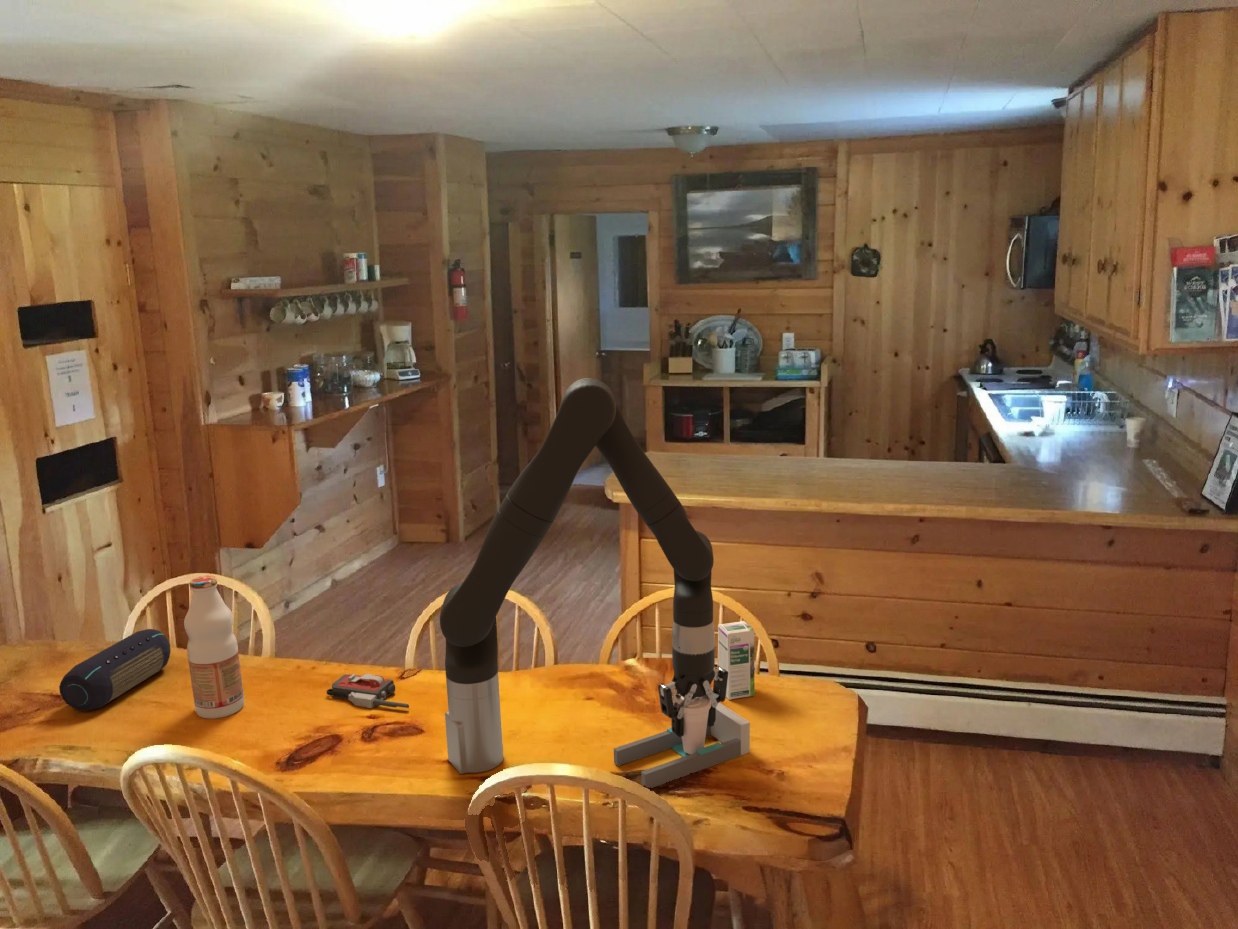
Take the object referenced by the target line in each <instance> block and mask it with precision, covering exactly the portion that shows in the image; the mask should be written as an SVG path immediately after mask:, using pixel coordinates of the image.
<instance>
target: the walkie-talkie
mask: <svg viewBox="0 0 1238 929" xmlns="http://www.w3.org/2000/svg"><path fill="white" fill-rule="evenodd" d="M394 683H395V682H394V680H393V679H388V678H384V677H383V676H382V675H377V674H375V675H374V674H371V673H365V674H364V675H357V674H355V673H353V674H350V673H349V674H342V676H340V677H339V678H338V679H336V680H335V681H333V683H332V684H331V688H329V689H327V690H326V695H328V696H332V697H333V698H334V699H341V700H347V701H350V702H351V703H352V704H353V705H354V706H355V707H362V708H368V709H373V708H375V706H378V707H379V706H382V707H390V708H397V707H399V708H406V709H408V708H410V705H409V703H402V702H398V701H397V702H396V701H390V700H386V699H387V698H388V697H390V695H394V693H395V692H396V685H395V684H394Z"/></svg>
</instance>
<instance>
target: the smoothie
mask: <svg viewBox="0 0 1238 929" xmlns="http://www.w3.org/2000/svg"><path fill="white" fill-rule="evenodd" d="M681 699H682V700H684V697H682V696H681ZM678 708H679V704H678V703H677V710H678ZM710 708H711V700H709V699H707V698H706V697H704V696H702V697H696V698H695V699H693V700H691V701H690V704H689V706H688V707H687V708H686V707H685V708H684V714H683V718H684V735H683V736H682V742H683V749H684V751H685V752H686V753H688V754H692V753H695V752H696V750H698V749H701V748H704V747H705V743H706V738H707V736H706V729H707V721H708V713H709V709H710Z"/></svg>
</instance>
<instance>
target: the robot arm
mask: <svg viewBox="0 0 1238 929" xmlns="http://www.w3.org/2000/svg"><path fill="white" fill-rule="evenodd" d="M616 401H617V400H616V397H615V395H614V392H613V391H612V389H611V388H610V386H608V385H607V384H606V383H604V382H603V381H601V380H600V379H595V378H590V377H588V378H587V377H586V378H581V379H578V380H576V381H574V382H573V383H572V384H570V386H568V387H567V389H566V391H565V393H564V394H563V397H562V399H561V401H560V405H559V407H558V411H557V412H556V413H557V414H556V416H555V418H554V420H553V422H552V425H551V427H550V429H549V431H548V433H547V436H546V437H545V439H544V441H543V443H542V444H541V446H540V448H539V449H538V451H537V452H536V454H535V455H534V456H533V458H532V459H531V460H530V461H529V463H528V464H527V465H526V466H525V467H524V469H523V470H522V471H521V472H520V474H519V475H518V476H517V478H516V479H515V480H514V482H513V484H512V485H511V486H510V488H509V490H508V491H507V493H506V495H505V496H504V498H503V500H502V502H501V504H500V505H499V506H498V508H497V511H496V513H495V514H494V516H493V519H492V520H491V522H490V524H489V527H488V530H487V532H486V534H485V537H484V539H483V542H482V544H481V547H480V550H479V552H478V554H477V558H476V560H475V562H474V563H473V565H472V567H471V570H470V571H469V572H468V573H467V574H468V575H466V577H465V579H464V580H463V581H461V582H459V583H457V584H455V585H454V586H453V587H451V588H450V589H449V591H448V592H447V593H446V594H445V597H444V600H443V602H442V605H441V606H442V607H441V609H440V613H439V626H440V630H441V633H442V635H443V637H444V638H445V655H444V656H445V659H444V668H445V670H444V671H445V679H446V680H445V681H446V684H445V685H446V694H447V698H446V699H447V709H448V711H445V713H444V722H445V734H446V735H445V737H446V748H447V760H448V761H449V763H450V764H451V765H452V766H453V767H454V768H455V769H456V771H457V772H458V773H459V774H461V775H464V774H468V773H475V774H476V773H483V772H487V771H491V770H493V769H495V768H497V767H498V766H499V765H500V764H501V763H502V761H503V760H504V745H503V744H504V743H503V730H502V729H503V728H502V716H501V714H502V712H501V698H500V696H501V695H500V681H499V679H500V678H499V665H498V664H499V662H498V658H499V656H498V655H499V648H498V647H499V645H498V644H499V643H498V642H499V641H498V622H497V620H498V618H497V615H498V613H499V611H500V609H501V607H502V604H503V603H504V601H505V599H506V596H507V594H508V592H509V591H510V589H511V587H512V585H513V584H514V583H515V581H516V580H517V578H518V577H519V575H520V573H521V572H522V571H523V569H524V568H525V567H526V565H527V564H528V563H529V561H530V560H531V558H532V556H534V553H535V552H536V550H537V549H538V547H539V546H540V545H541V543H542V541H543V540H544V538H545V537H546V535H547V533H548V532H549V530H550V529H551V527H552V525H553V524H554V523H555V522H554V521H555V520H556V518H557V516H558V514H559V512H560V510H561V509H562V506H563V504H564V503H565V500H566V498H567V497H568V494H569V493H570V490H571V488H572V485H573V483H574V480H575V478H576V476H577V474H578V472H579V470H580V469H581V467H582V466H583V464H584V463H585V461H586V459H587V458H588V457H589V455H591V453H592V451H593V450H594V448H596V449H597V450H598V451H599V452H600V454H601V455H602V456H603V457H604V459H605V461H606V462H607V464H608V465H609V467H610V468H611V470H612V472H613V474H614V475H615V477H616V479H617V481H618V483H619V484H620V487H621V488H622V490H623V491H624V493H625V496H626V497H627V498H628V501H629V502H630V503H631V505H632V507H633V508H634V510H635V511H636V512H637V514H638V516H640V518H641V520H642V521H643V522H644V524H645V525H646V527H647V528H648V529H649V530H650V531H651V533H652V534H653V536H654V537H655V539H656V541H657V543H658V545H659V547H660V549H661V550H662V552H663V554H664V556H665V558H666V559H667V561H668V563H669V564H670V566H671V567H672V569H673V580H674V588H673V589H674V591H673V597H672V598H673V600H672V614H673V615H672V617H673V619H672V628H671V644H672V645H671V647H672V648H671V651H672V653H671V656H672V658H671V659H672V661H671V662H672V670H673V677H672V679H671V681H670V682H668V683H666V684H664V683H662V682H661V683H659V684H658V685H657V690H658V697H659V704H660V710H661V713H662V714H664V715H665V716H666V717H668V719H671V723H670V724H671V727H672V732H674V733H675V734H676V735H677V736H679V737H681V736H683V735H684V718H683V714H684V708H685V707H686V708H687V707H688V706H689V704H690V701H691V700H693V699H695V698H696V697H702V696H704V697H706V698H707V699H709V700H711V708H710V709H709V713H708V721H707V725H708V726H709V727H711V726H714V722H715V720H716V706H717V704H718V703H724V702H725V701H726V698H727V697H726V689H727V680H728V671H726V670H725V669H723V668H721V667H719V665H718V666H716V661H715V659H716V655H715V654H716V653H715V652H716V651H715V650H716V648H715V647H716V644H715V643H716V642H715V641H716V637H715V632H716V631H715V625H714V597H713V591H712V572H713V571H712V570H713V567H714V561H715V560H714V552H713V550H714V549H713V545H712V542H711V541H710V539H709V538H708V537H707V536H706V534H704V532H700V531H699V530H696V529H695V528H694V526H693V525H692V523H691V522H690V519H689V518H688V515H687V512H686V510H685V507H684V506H683V505H682V504H683V503H682V502H681V501H680V499H679V498H678V497H677V496H676V494H675V493H674V491H673V489H672V487H670V485H669V484H668V483H667V481H666V480H665V479H664V477H663V476H662V475H661V473H660V472H659V470H658V469H657V468H656V466H655V465H654V464H653V462H652V461H651V460H650V458H649V456H647V454H646V452H644V450H643V449H642V447H641V445H640V444H639V443H638V441H637V440H636V438H635V436H634V435H633V433H632V431H631V430H630V428H629V426H628V424H627V422H626V421H625V419H624V417H623V415H622V412H621V411H620V408H619V406H618V404H617V402H616ZM715 666H716V667H715ZM712 683H713V685H712ZM711 685H712V686H713V687H711ZM681 696H682V697H684V700H682V699H681ZM677 703H678V704H679V708H678V709H677Z"/></svg>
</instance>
